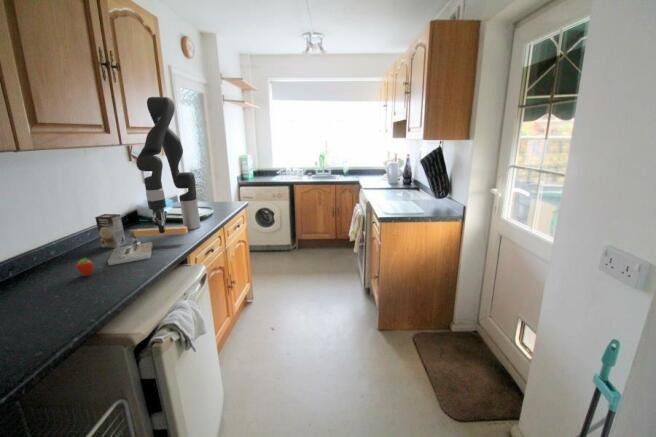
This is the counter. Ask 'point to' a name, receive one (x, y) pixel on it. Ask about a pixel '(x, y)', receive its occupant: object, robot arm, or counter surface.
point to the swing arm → (157, 231)
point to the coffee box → (110, 230)
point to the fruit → (85, 266)
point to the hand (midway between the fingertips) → (162, 232)
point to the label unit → (130, 253)
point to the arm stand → (134, 241)
